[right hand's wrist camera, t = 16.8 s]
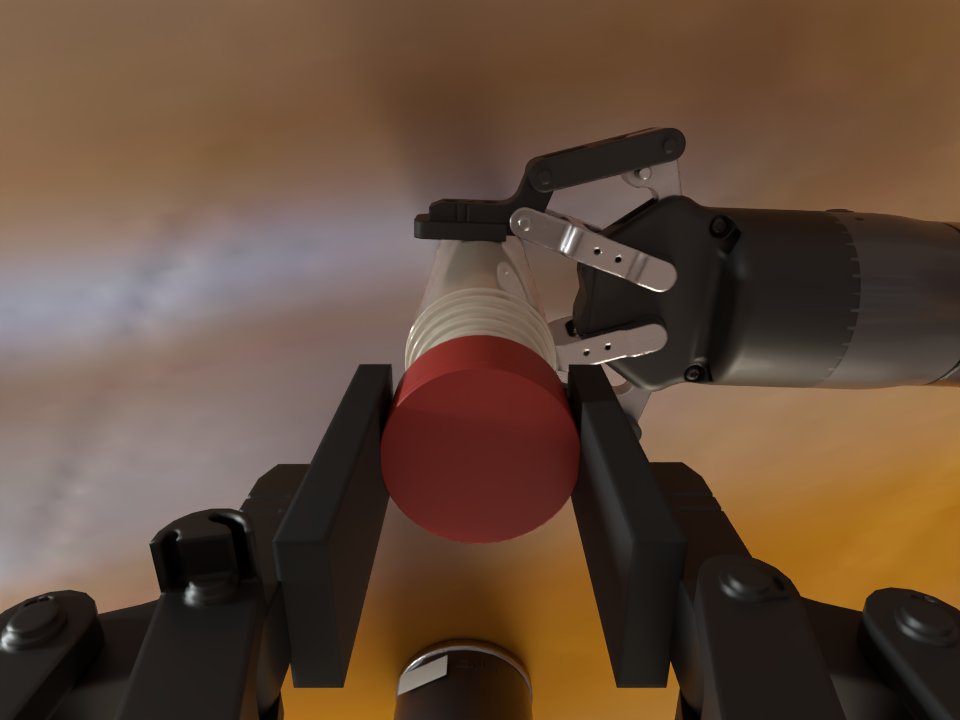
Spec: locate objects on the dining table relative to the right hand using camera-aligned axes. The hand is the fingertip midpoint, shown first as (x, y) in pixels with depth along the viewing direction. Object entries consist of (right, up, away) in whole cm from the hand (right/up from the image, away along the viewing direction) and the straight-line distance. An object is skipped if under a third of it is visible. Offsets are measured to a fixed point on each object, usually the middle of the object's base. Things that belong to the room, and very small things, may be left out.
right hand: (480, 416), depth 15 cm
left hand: (-3, +4, +11) cm, 12 cm away
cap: (0, -1, -2) cm, 2 cm away
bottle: (0, +7, +17) cm, 18 cm away
